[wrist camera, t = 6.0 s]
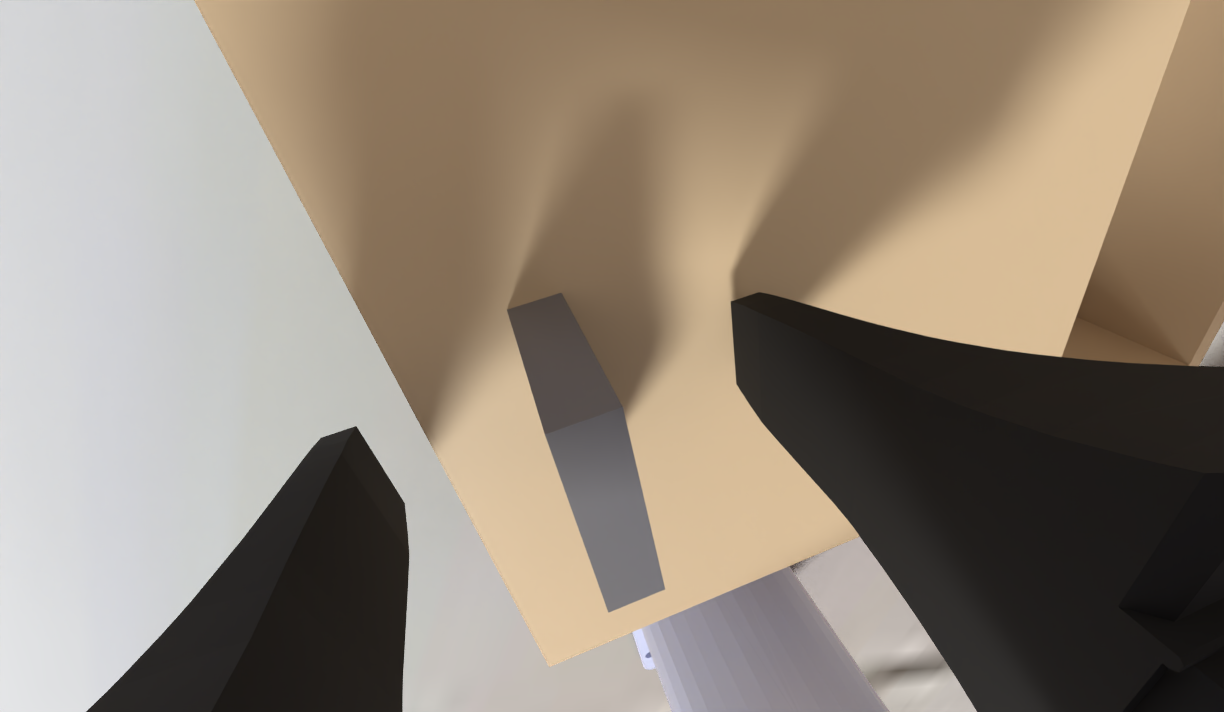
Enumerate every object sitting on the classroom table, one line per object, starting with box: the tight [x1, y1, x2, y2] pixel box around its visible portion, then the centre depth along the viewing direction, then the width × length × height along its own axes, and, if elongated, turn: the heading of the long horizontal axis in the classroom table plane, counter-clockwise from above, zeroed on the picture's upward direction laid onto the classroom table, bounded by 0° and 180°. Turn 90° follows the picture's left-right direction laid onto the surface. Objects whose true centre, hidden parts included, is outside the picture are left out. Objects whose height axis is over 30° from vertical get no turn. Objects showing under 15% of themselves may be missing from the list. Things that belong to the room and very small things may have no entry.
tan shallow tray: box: [1062, 0, 1224, 366], centre depth 15 cm, size 18×16×5 cm
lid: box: [194, 0, 1191, 667], centre depth 10 cm, size 18×16×4 cm
